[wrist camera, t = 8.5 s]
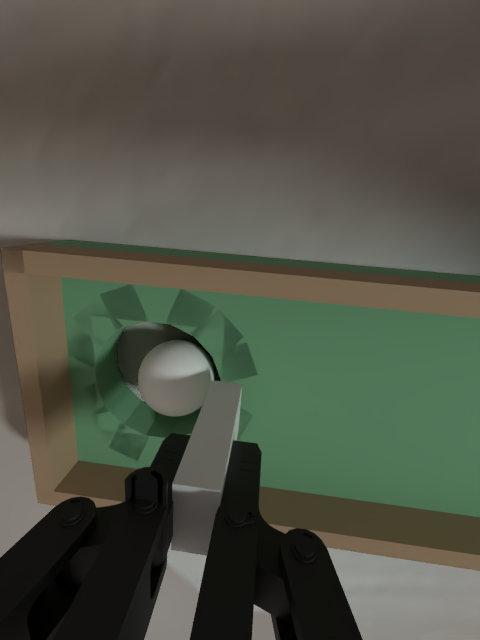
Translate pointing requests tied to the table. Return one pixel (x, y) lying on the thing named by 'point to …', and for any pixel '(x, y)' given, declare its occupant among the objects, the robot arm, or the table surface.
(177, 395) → the ball
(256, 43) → the table surface
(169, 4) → the table surface
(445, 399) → the green
